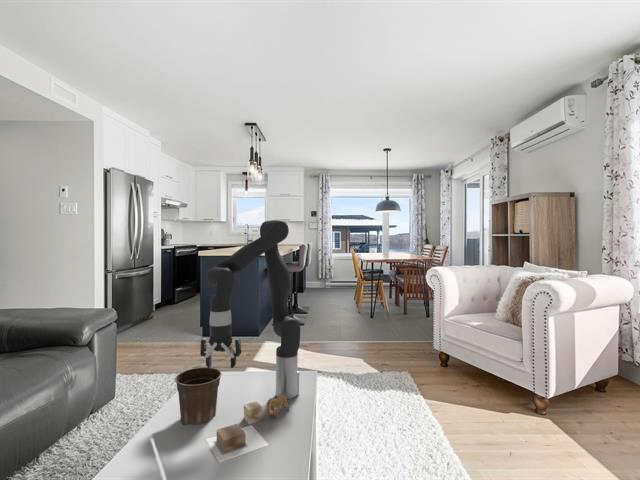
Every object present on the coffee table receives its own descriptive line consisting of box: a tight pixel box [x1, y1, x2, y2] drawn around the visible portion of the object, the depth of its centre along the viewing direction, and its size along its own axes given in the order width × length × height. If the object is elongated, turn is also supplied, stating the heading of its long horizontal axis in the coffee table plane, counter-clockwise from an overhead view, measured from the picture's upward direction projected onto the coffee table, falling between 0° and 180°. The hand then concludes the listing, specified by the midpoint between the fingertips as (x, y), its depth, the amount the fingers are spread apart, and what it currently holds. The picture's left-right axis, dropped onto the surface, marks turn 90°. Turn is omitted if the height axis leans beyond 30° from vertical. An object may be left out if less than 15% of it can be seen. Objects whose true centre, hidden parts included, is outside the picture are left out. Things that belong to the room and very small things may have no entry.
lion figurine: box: [265, 395, 290, 419], centre depth 130 cm, size 15×5×9 cm, turn 163°
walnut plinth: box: [216, 423, 245, 453], centre depth 110 cm, size 7×7×4 cm
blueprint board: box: [205, 424, 270, 464], centre depth 111 cm, size 16×14×1 cm
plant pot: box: [174, 366, 223, 426], centre depth 127 cm, size 16×16×16 cm
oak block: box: [243, 401, 263, 425], centre depth 125 cm, size 5×5×6 cm
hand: (221, 367), depth 125 cm, fingers open, 8 cm apart
